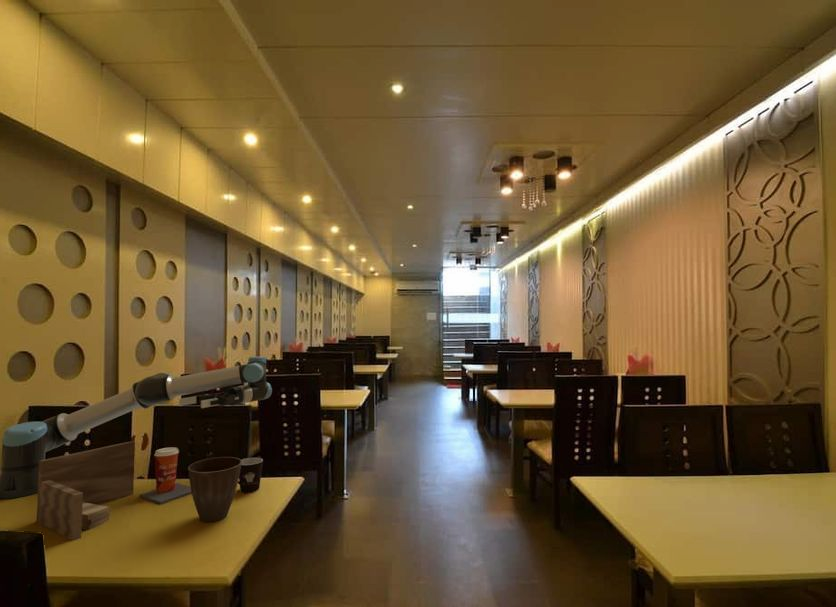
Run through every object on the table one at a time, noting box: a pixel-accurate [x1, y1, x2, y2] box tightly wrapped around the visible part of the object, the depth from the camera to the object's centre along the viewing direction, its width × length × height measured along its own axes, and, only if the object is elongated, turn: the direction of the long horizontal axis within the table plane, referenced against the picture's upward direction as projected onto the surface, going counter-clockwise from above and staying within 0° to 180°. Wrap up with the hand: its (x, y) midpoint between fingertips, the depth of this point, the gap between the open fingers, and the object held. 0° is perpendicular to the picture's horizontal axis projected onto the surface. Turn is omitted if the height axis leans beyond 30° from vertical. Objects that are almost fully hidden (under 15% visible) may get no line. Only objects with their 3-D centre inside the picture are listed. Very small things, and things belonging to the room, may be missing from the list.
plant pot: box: [187, 456, 242, 523], centre depth 130 cm, size 15×15×16 cm
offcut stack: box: [81, 502, 111, 531], centre depth 127 cm, size 12×7×4 cm, turn 74°
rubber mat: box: [138, 482, 192, 505], centre depth 148 cm, size 13×13×1 cm
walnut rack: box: [36, 440, 136, 541], centre depth 133 cm, size 24×26×18 cm
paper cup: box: [153, 446, 180, 493], centre depth 151 cm, size 8×8×14 cm
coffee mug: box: [237, 457, 264, 493], centre depth 153 cm, size 12×9×10 cm
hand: (190, 403), depth 161 cm, fingers open, 13 cm apart
